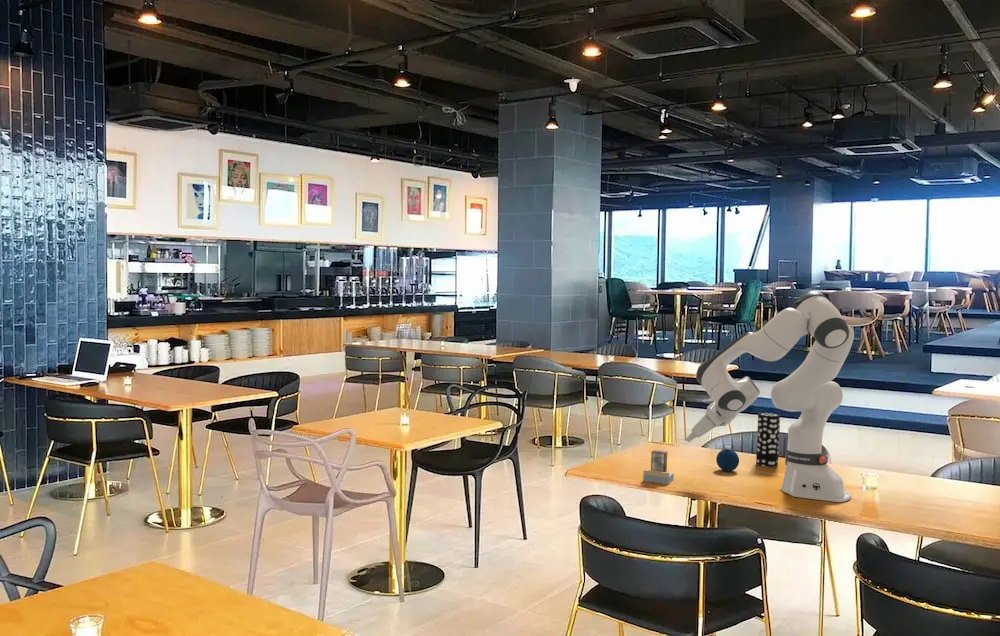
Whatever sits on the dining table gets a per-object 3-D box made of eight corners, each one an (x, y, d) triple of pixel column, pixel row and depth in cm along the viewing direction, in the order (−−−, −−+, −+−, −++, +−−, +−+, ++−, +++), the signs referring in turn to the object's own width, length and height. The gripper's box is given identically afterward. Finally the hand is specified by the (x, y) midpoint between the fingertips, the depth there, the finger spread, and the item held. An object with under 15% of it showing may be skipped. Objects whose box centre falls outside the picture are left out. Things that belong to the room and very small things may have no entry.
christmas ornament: (736, 469, 323) (737, 443, 322) (740, 474, 314) (741, 447, 314) (714, 468, 324) (715, 442, 323) (717, 472, 315) (718, 446, 315)
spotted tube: (773, 468, 326) (775, 417, 326) (752, 464, 331) (755, 414, 331) (781, 464, 333) (783, 414, 332) (760, 461, 338) (762, 412, 337)
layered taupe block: (666, 473, 300) (667, 451, 300) (664, 475, 297) (665, 452, 297) (652, 471, 302) (653, 449, 302) (650, 473, 299) (651, 451, 299)
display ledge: (673, 479, 302) (673, 468, 301) (668, 484, 294) (668, 473, 294) (648, 476, 305) (649, 466, 305) (643, 481, 298) (643, 470, 298)
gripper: (719, 403, 301) (690, 427, 306) (707, 410, 283) (677, 436, 287) (731, 416, 300) (702, 440, 304) (720, 424, 281) (690, 450, 286)
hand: (690, 438), depth 296 cm, fingers open, 8 cm apart
